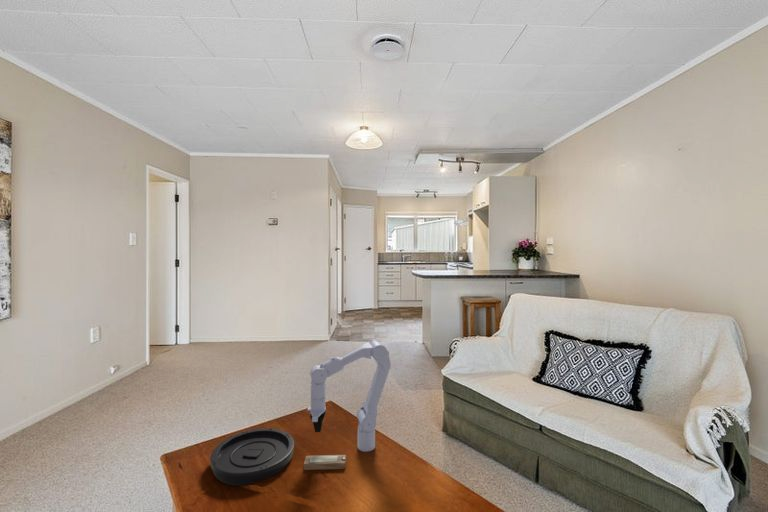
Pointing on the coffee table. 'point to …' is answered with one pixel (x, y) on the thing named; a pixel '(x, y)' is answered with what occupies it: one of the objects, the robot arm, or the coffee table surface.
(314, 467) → the frame
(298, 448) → the coffee table surface
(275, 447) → the round tray
